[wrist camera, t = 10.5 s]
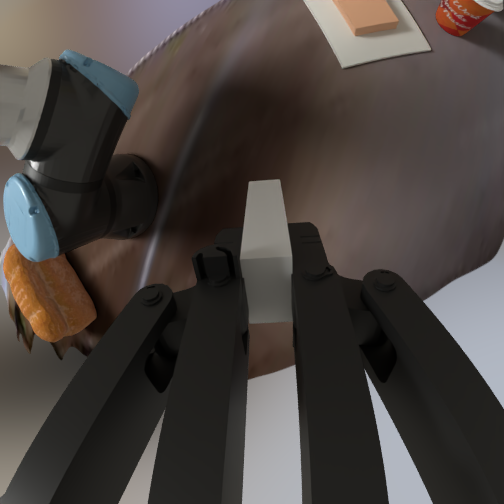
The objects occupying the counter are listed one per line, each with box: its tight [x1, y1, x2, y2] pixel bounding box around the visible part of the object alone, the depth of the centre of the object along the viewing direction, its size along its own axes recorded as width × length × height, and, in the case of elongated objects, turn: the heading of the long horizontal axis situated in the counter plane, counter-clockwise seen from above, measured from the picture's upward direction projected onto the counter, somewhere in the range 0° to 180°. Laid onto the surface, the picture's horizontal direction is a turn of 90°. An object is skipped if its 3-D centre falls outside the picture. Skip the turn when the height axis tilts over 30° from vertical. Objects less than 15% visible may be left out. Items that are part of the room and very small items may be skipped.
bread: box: [3, 244, 97, 342], centre depth 51 cm, size 14×26×15 cm, turn 35°
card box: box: [332, 0, 399, 36], centre depth 26 cm, size 7×3×11 cm
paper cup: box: [436, 0, 503, 36], centre depth 17 cm, size 8×8×14 cm
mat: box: [303, 0, 431, 69], centre depth 28 cm, size 15×18×1 cm
